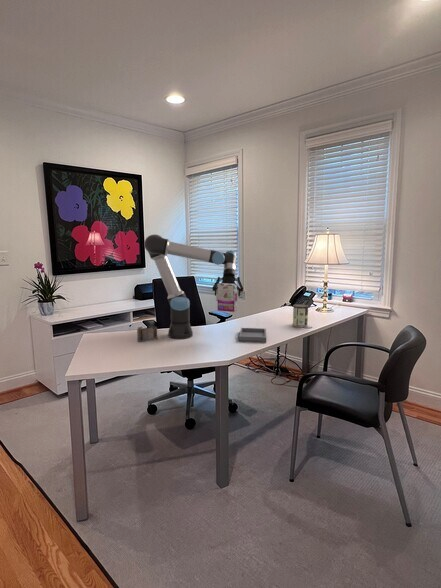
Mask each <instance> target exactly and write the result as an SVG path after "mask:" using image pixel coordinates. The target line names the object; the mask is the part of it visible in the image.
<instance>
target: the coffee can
mask: <svg viewBox="0 0 441 588" xmlns="http://www.w3.org/2000/svg"><path fill="white" fill-rule="evenodd" d="M292 306H293V309H292V326H294V327H298V328H305V327H308V323H309V321H308V320H309V316H308V314H309V305H308V304H304V303H303V304H301V303H298V304H297V303H295V304H293V305H292Z"/></svg>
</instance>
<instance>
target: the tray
mask: <svg viewBox="0 0 441 588" xmlns="http://www.w3.org/2000/svg"><path fill="white" fill-rule="evenodd" d="M238 341H239V342H245V343H246V342H249V343H250V342H251V343H267V328H262V327H261V328H258V327H254V328H253V327H240V331H239V335H238Z"/></svg>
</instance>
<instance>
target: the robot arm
mask: <svg viewBox="0 0 441 588" xmlns="http://www.w3.org/2000/svg"><path fill="white" fill-rule="evenodd" d="M143 244H144V245H143V246H144V249H145V250H146V252H148V254H149V257H150V260H152V261H154V263H155V266H156V269H157V270H158V272H159V275H160V278H161V280H162V282H163V285H164V287H165V290H166V293H167V301H168V303H169V306H170V326H169V328H168V333H167V336H168V337H169V338H171V339H175V340H176V339H177V340H181V339H182V340H183V339H189V338H191V337H193V335H194V334H193V328H192V326H191V322H190V317H191V316H190V314H191V313H190V312H191V311H190V310H191V309H190V305H191V303H190V302H191V301H190V299H189V298H188V297H187V295H186V292H185V291H183V290H182V289H181V287H180V285H179V282H178V280H177V278H176V277H177V276H176V275H175V272H174V270H173V267H172V265H171V262H170V260H169V258H168V255H170V256H174V257H175V256H176V257H180V258H186V259H191V260H196V261H200V262H205V263H210V264H214V265H218V266H219V265H223V272H222V273H223V274H222V277H220V276H217V280H216V281H215V282H214V284H213V286H212V292H214V296H215V300H216V302H218V295H217V284H219V283H228V284H237V302H239V297H241V292H244V287H243V284H242V282H241V277H240V276H238V277H236V270H237V269H236V268H237V267H236V266H237V265H236V264H237V253H236V251H234V250H226V251H225V252H221V251H218V250H214V249H208V248H207V249H206V248H201V247H197V246H194V245H188V244H183V243H179V242H174V241H170V240H169V239H168V238H163V237H162V236H161V235H159V234H150V235H148V236H146V238H145V240H144V242H143ZM235 281H236V282H237V283H236V282H235Z"/></svg>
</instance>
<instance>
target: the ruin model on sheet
mask: <svg viewBox="0 0 441 588" xmlns="http://www.w3.org/2000/svg"><path fill="white" fill-rule="evenodd" d="M136 332H137V333H136V334H137V335H136V336H137V338H136V339H137V342H138V343H140V342H141V341H142V342H150V341H155V340H158V327H157V326H152V327H144V328H143V326H138V327H137V329H136Z"/></svg>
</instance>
